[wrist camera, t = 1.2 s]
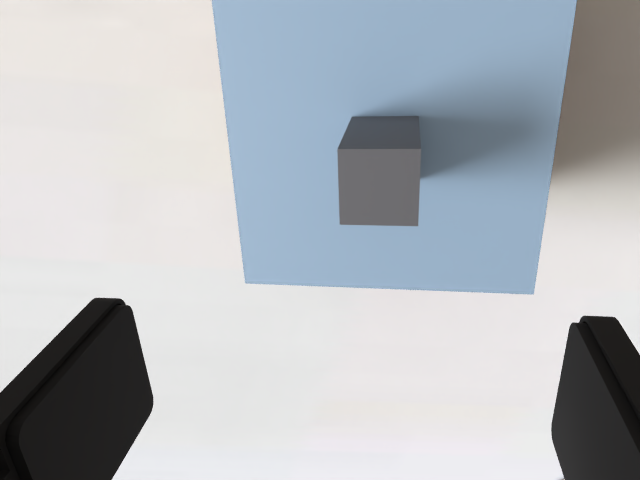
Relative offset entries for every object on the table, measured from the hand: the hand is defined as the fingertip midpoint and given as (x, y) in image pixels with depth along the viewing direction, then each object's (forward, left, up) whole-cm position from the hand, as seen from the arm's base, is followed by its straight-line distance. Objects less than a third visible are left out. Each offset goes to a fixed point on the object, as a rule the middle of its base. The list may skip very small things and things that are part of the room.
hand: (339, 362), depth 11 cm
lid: (0, -1, -16) cm, 16 cm away
